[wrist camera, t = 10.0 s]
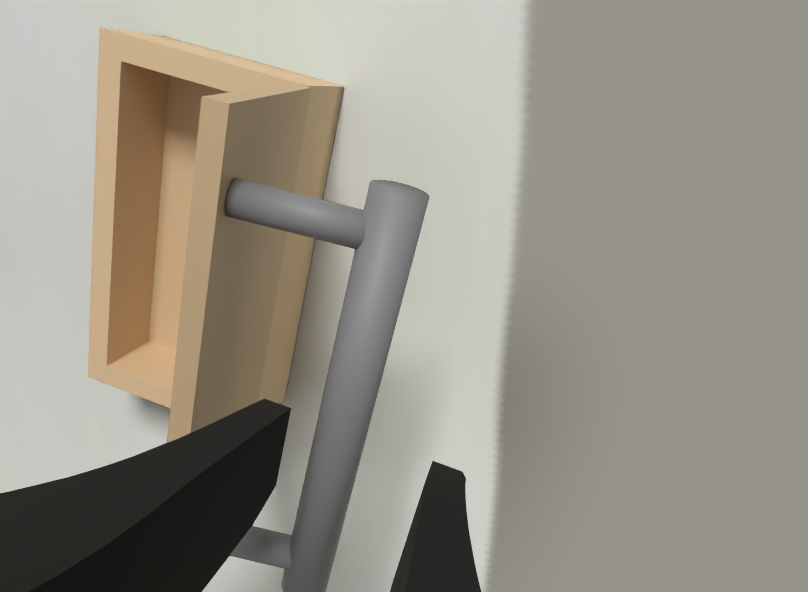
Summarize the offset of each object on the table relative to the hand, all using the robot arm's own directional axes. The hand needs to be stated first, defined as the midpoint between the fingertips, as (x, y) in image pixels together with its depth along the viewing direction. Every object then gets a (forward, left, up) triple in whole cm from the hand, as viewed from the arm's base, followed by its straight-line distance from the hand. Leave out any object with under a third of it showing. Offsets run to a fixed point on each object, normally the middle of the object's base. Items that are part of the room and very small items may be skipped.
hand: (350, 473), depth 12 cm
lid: (-3, +4, -4) cm, 6 cm away
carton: (-6, +7, -10) cm, 14 cm away
